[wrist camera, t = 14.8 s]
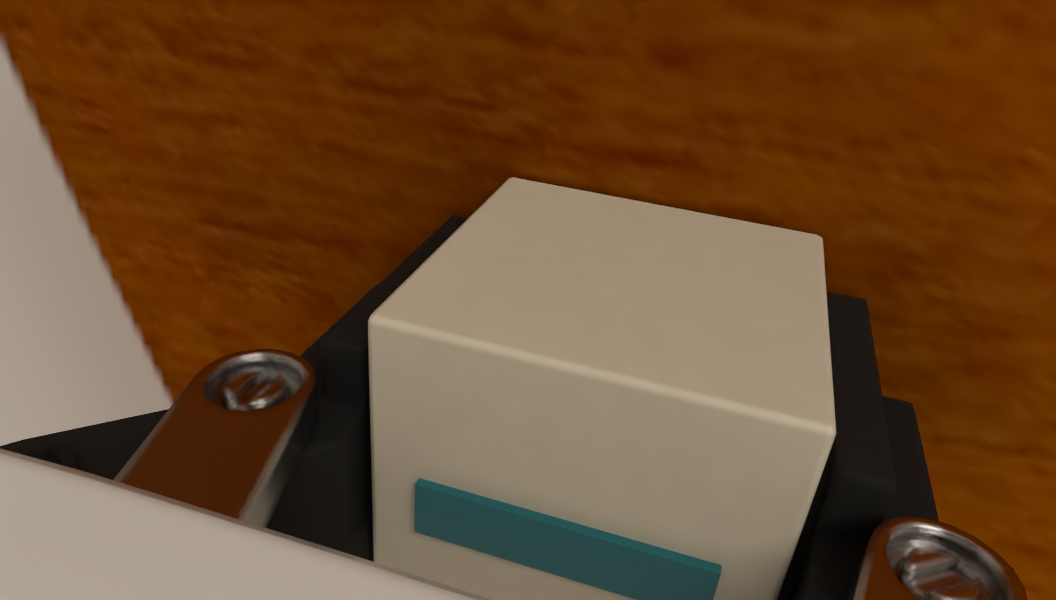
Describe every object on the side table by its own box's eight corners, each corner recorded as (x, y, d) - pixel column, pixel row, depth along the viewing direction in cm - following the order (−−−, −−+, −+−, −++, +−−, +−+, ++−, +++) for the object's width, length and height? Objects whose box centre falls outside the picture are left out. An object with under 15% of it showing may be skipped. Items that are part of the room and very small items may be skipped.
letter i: (508, 174, 11) (357, 321, 7) (825, 233, 10) (840, 439, 6) (491, 415, 13) (367, 626, 9) (750, 483, 12) (728, 749, 8)
